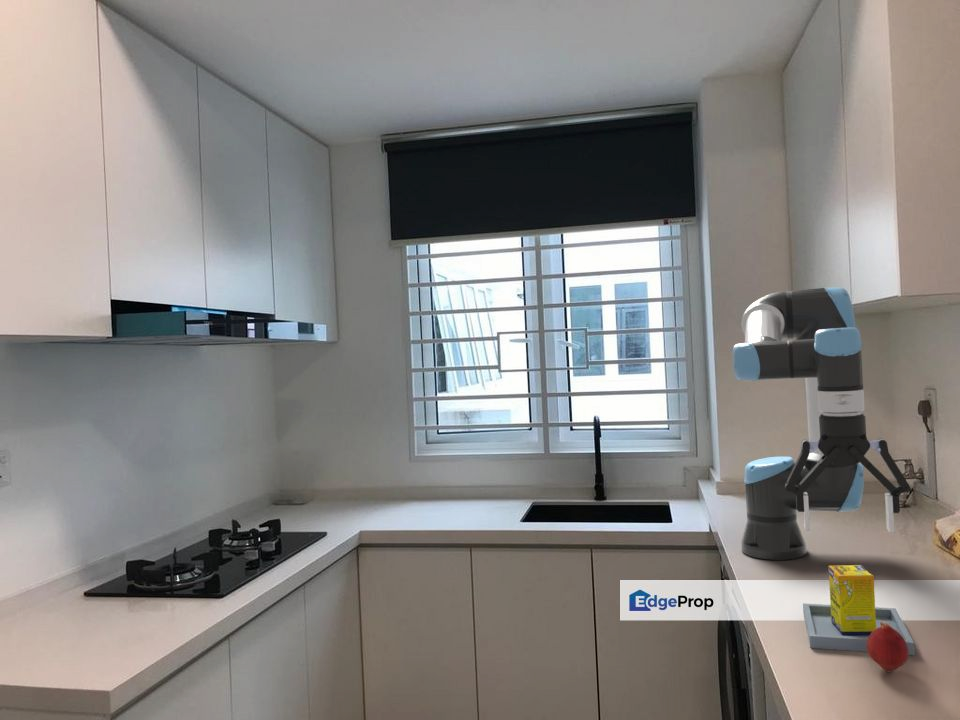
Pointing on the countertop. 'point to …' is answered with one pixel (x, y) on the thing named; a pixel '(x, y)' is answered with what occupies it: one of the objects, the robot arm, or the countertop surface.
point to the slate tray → (831, 638)
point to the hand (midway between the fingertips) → (848, 530)
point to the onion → (887, 647)
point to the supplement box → (852, 600)
